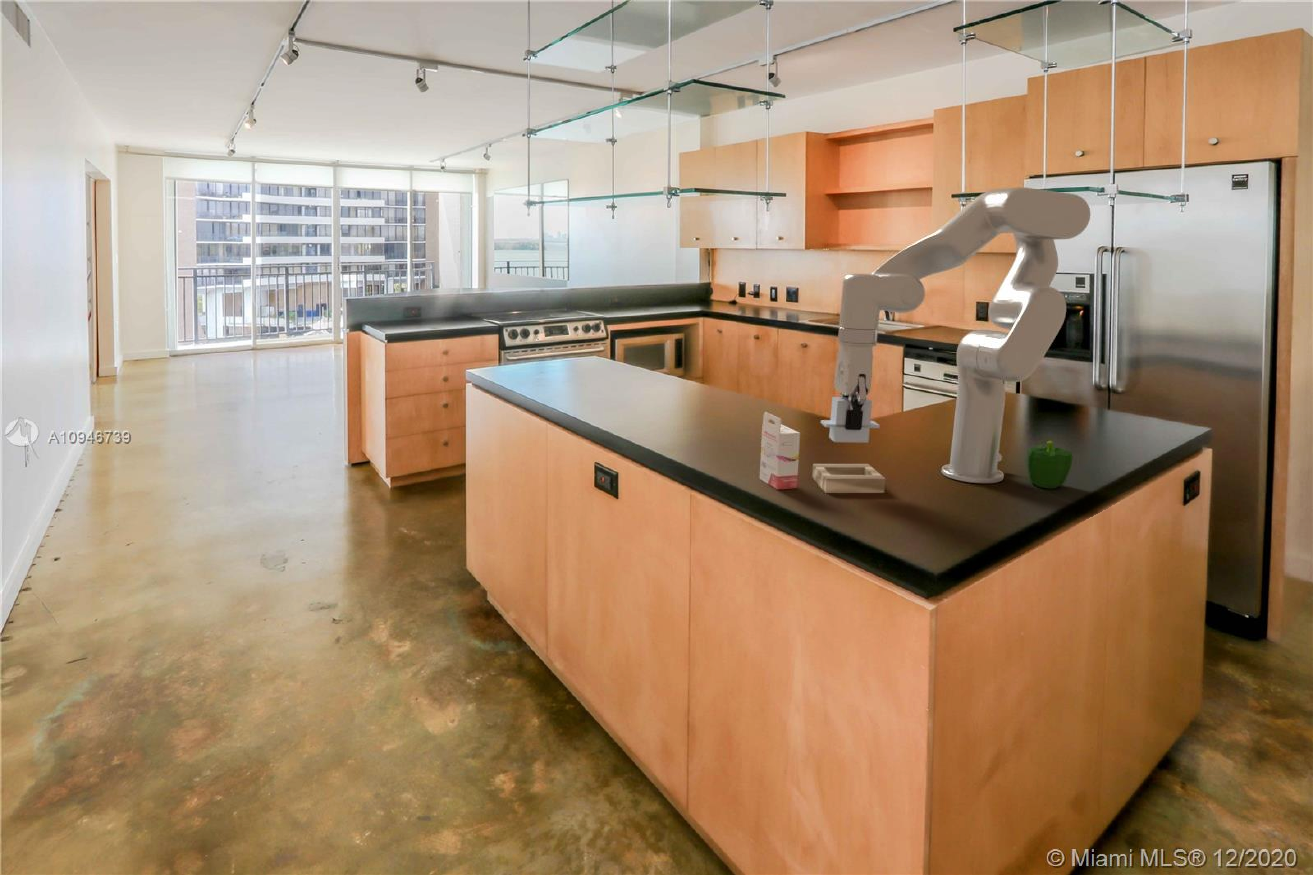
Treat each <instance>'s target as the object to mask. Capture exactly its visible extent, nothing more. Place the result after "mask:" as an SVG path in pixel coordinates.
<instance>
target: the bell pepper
mask: <svg viewBox="0 0 1313 875" xmlns="http://www.w3.org/2000/svg"><path fill="white" fill-rule="evenodd" d="M1046 446H1047V447H1046ZM1046 446H1045V445H1038V446H1036V447H1034V446H1033V447H1030V449H1029V450H1028V451H1027V457H1026V466H1027V474H1028V479H1029V482H1030V483H1031V484H1034V485H1035V486H1037V487H1039V488H1044V489H1057V488H1058V487H1062V486H1063V484H1065V482H1066V480H1067V478H1068V476H1069V474H1070V471H1071V467H1072V464H1073V457H1074V456H1073V454H1072V451H1070V450H1069V451H1068V450H1065V449H1064V448H1062V447H1054V442H1053V440H1048V441H1047V442H1046Z"/></svg>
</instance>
